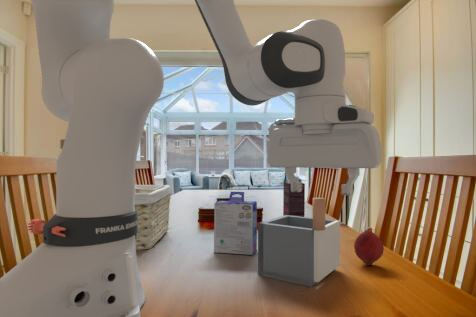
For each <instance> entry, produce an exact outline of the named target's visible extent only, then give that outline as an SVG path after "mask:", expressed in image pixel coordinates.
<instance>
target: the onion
mask: <svg viewBox="0 0 476 317" xmlns="http://www.w3.org/2000/svg"><path fill="white" fill-rule="evenodd" d="M353 248H354V253H355V255H356V256H357V258H358V259H360V261H361V262H362V263H364V264H366V265H367V266H371V265H373V264H374V263H376V262H377V261H378V260H379V259H381V257H382V256H383V255H384V250H385V248H384V243H383V241H382V240H381V238H380V237H379V236H378V235H377V234H375V232H373V228H372V227H367V228H366V229H365V230H364V231H363V232H361V233H360V234H359V235H358V236H357V237H356V238H355V240H354V245H353Z"/></svg>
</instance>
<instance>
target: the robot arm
mask: <svg viewBox="0 0 476 317" xmlns="http://www.w3.org/2000/svg"><path fill="white" fill-rule="evenodd" d="M194 1H195V4H196V7H197V9H198V12H199V14H200V15H201V18H202V20H203V22H204V24H205V27H206V29H207V32H208V33H209V36H210V37H211V40H212V42H213V44H214V46H215V48H216V50H217V53H218V54H219V58H220V60H221V63H222V68H223V73H224V80H225V83H226V88H227V89H228V92H229V93H230V94H231V95H232V97H233V98H234V99H235V100H236V101H237V102H239V103H241V104H244V105H245V106H250V107H251V106H252V107H253V106H258V105H262V104H264V103H265V102H267V101H270V100H271V99H273V98H277V97H280V96H283V95H284V94H288V93H292V94H293V95H294V117H293V118H286V119H280V118H279V119H276V120H275V121H274V122H272V123H271V124H270V125H269V128H268V138H269V139H268V140H269V141H268V146H267V161H266V162H267V164H268V165H269V167H271V168H284V174H285V176H286V178H287V180H288V182H290V183H291V192H301V191H302V188H301V186H302V183H303V182H301V181H298V180H297V178H296V175H295V174H296V173H297V168H301V169H302V168H305V169H306V168H307V169H308V168H310V169H311V168H315V169H316V168H318V169H319V168H320V169H326V168H328V169H347V175H349V176H350V177H349V179H348V181H347V182H346V183H344V184H343V183H342V184H341V187H340V188H341V189H340V190H341V191H340V193H341V195H342V196H352V195H354V194H353V193H354V185H355V183H356V181H357V179H358V178H359V176H360V169H377V168H379V166H380V165H381V164H382V162H383V154H382V153H383V152H382V143H381V137H380V133H379V131H378V129H377V128H376V127H375V126H374V125H372V124H374V121H375V114H374V113H373V112H372V111H371V110H369V109H367V108H366V109H365V108H363V107H360V106H359V107H358V106H356V105H353V104H347V103H346V100H347V99H346V93H345V89H344V79H345V76H346V53H345V44H344V38H343V35H342V32H341V30H340V28H339V26H338V25H337V24H336V23H334V22H332V21H329V20H327V19H315V18H314V19H310V20H306V21H304V22H302V23H301V24H299V26H297V27H294V28H293V29H291V30H281V31H277V32H274V33H272V34H270V35H267V37H264V38H263V39H262V40H260V41H258V42H257V43H256V44H254V46H253V44H252V43H251V42H250V39H249V36H248V34H247V31H246V29H245V27H244V24H243V22H242V18H241V17H240V15H239V12H238V10H237V7H236V5H235V1H234V0H194ZM30 2H31V6H32V10H33V16H34V21H35V28H36V40H37V48H38V56H39V65H40V69H41V76H42V80H41V82H42V83H41V89H40V90H41V91H40V92H41V98H42V101H43V104H44V105H45V107H46V109H47V110H48V111H49V112H50V114H53V116H55V117H56V118H58V119H60V120H63V121H65V122H67V123H68V124H67V129H66V133H65V138H64V142H63V144H62V145H63V146H62V148H61V151H60V153H59V155H58V157H57V160H56V174H55V175H56V180H55V182H56V184H55V185H56V188H55V193H56V195H55V198H56V200H55V201H56V202H55V204H56V205H55V206H56V207H55V209H56V210H55V212H56V213H55V214H54V215H53V216H51V218H50V219H49V220H48V221H46V220H43V219H40V218H34V219H31V220H30V221H29V223H27V230H28V231H29V232H30V233H32V234H36V235H42V243H40V244H39V245H38V246H37V247H36V248H35V249H34V250H33V251H32V252H30V253H29V254H28V255H27V256H26V257H24V258H23V259H22V260H21V261H20V262H19V263H17V264H16V265H15V266H14V267H12V268H11V269H10V270H9V271H8V272H6V273H5V274H4V275H2V276H1V277H0V317H141V308H142V306H143V305H144V303H145V301H146V296H145V293H144V289H143V285H142V282H141V278H140V272H139V271H140V270H139V265H138V258H137V249H136V243H135V240H136V236H137V232H138V217H137V211H136V210H135V185H136V166H137V157H138V152H139V148H140V143H141V140H142V136H143V133H144V130H145V125H146V122H147V119H148V116H149V114H150V113H151V110H152V109H153V107H154V105H155V104H156V103H157V101H158V100H159V98H160V97H161V95H162V93H163V89H164V83H165V80H164V79H165V78H164V71H163V67H162V64H161V62H160V59H159V58H158V57H157V55H156V54H155V52H154V51H153V50H152V49H151V47H149V46H148V45H146V44H145V43H143V42H142V41H140V40H137V39H135V38H130V37H115V38H113V37H112V38H111V34H110V33H111V22H112V17H113V13H114V9H115V0H30Z"/></svg>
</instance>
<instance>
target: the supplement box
mask: <svg viewBox="0 0 476 317" xmlns="http://www.w3.org/2000/svg"><path fill="white" fill-rule="evenodd" d="M301 188H302V191H301V192H291V183H290V182H289V181H283V201H282V202H283V205H282V206H283V210H282V211H283V213H282V214H283V215H282V216H284V215H290V216H300V217H305V209H306V208H305V206H306V205H305V204H306V201H305V198H306V197H305V193H306V192H305V190H306V186H305V183H304V182H302V186H301Z"/></svg>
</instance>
